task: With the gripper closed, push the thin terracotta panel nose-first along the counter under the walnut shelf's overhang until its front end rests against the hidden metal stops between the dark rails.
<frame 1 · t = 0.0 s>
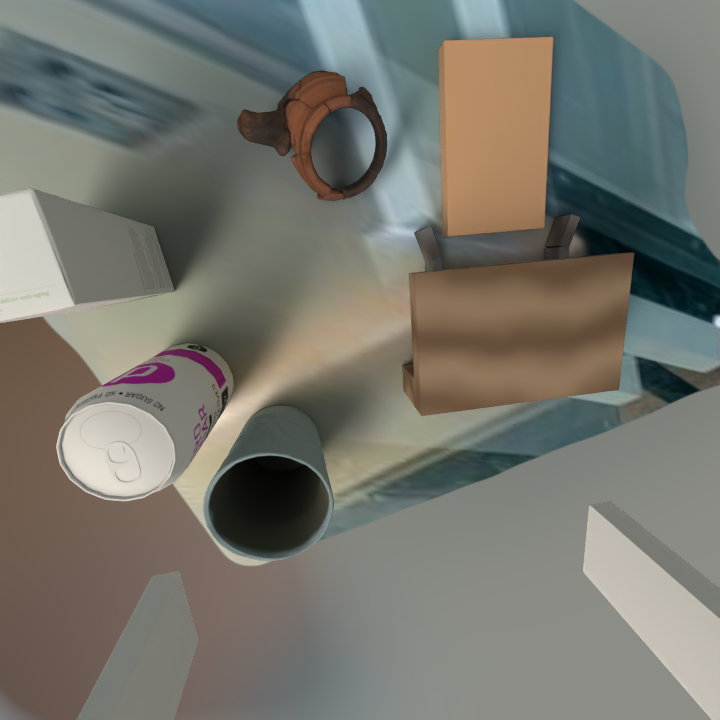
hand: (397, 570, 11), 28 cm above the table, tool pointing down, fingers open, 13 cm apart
grey cylindrical pot: (283, 438, 40), on the table
skincare box: (124, 265, 34), on the table
supplement can: (195, 380, 37), on the table
terracotta panel: (488, 148, 35), on the table
broken clay pot: (314, 145, 33), on the table
walnut shelf: (489, 310, 39), on the table
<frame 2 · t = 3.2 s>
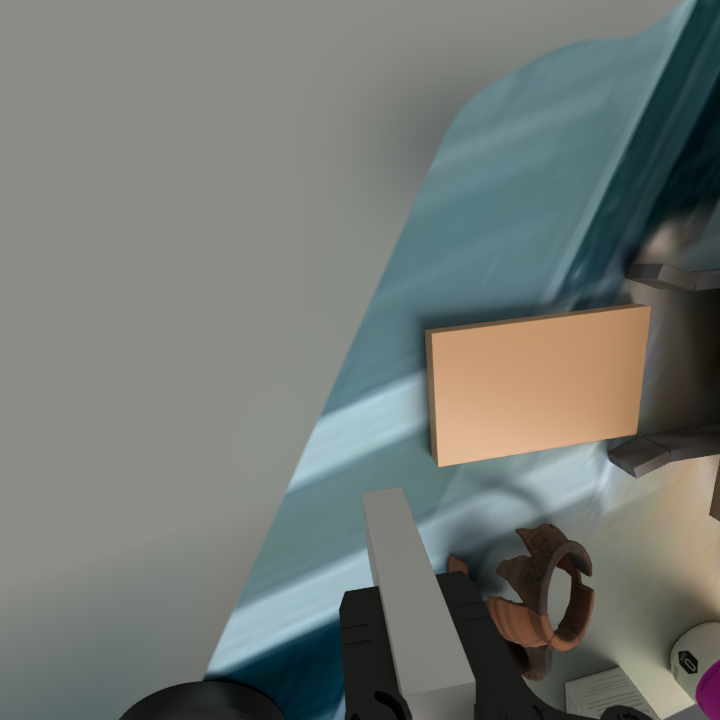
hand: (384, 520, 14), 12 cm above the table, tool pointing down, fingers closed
skincare box: (589, 698, 37), on the table
supplement can: (698, 646, 38), on the table
terracotta panel: (526, 379, 28), on the table
broken clay pot: (500, 562, 31), on the table
walnut shelf: (718, 357, 29), on the table
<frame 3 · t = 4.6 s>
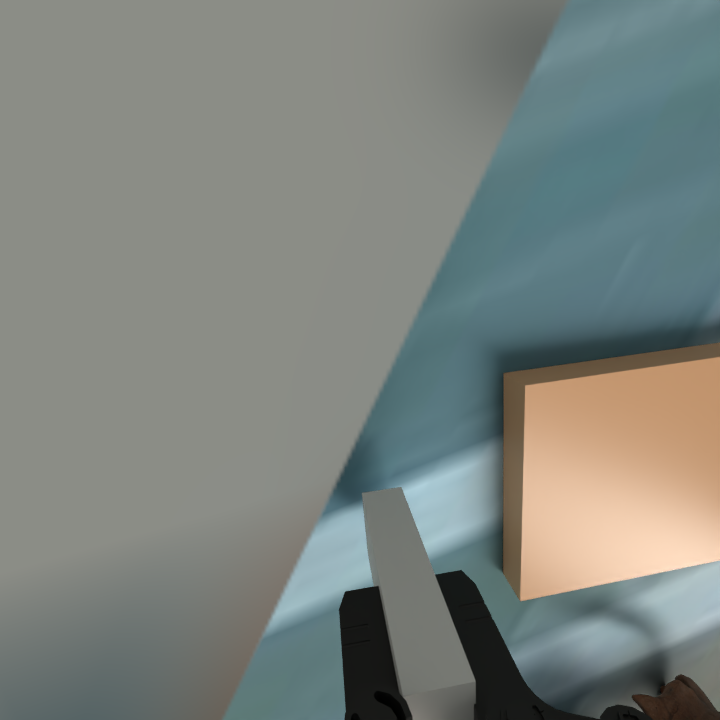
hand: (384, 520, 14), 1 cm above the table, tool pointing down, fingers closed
terracotta panel: (659, 447, 17), on the table
broken clay pot: (586, 710, 21), on the table
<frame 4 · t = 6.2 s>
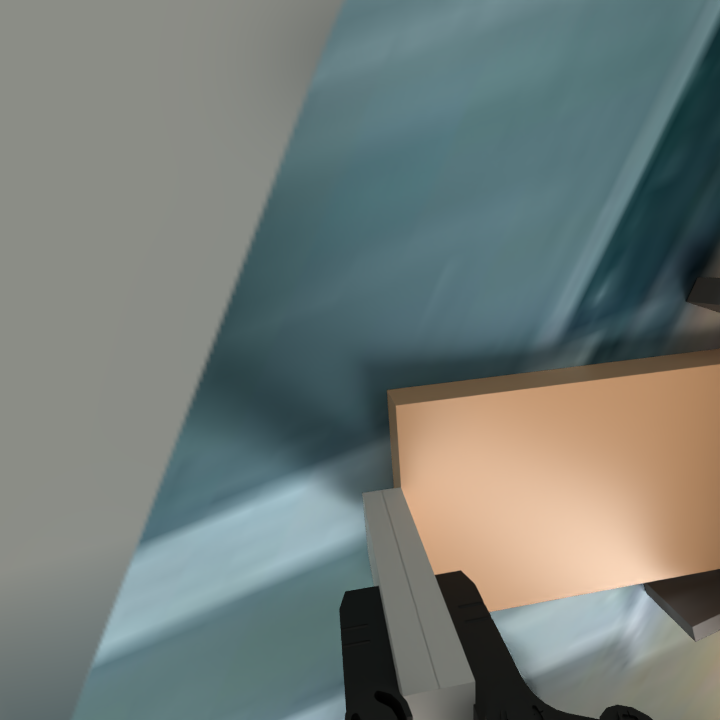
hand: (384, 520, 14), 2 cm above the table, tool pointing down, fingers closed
terracotta panel: (564, 468, 16), on the table, touching gripper
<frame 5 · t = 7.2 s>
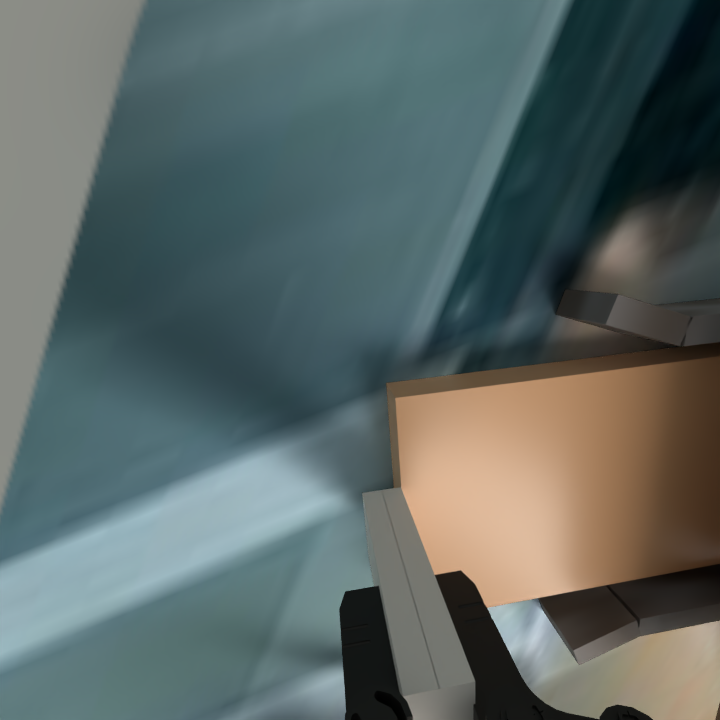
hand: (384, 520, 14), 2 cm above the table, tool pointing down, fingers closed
terracotta panel: (565, 463, 16), on the table, touching gripper
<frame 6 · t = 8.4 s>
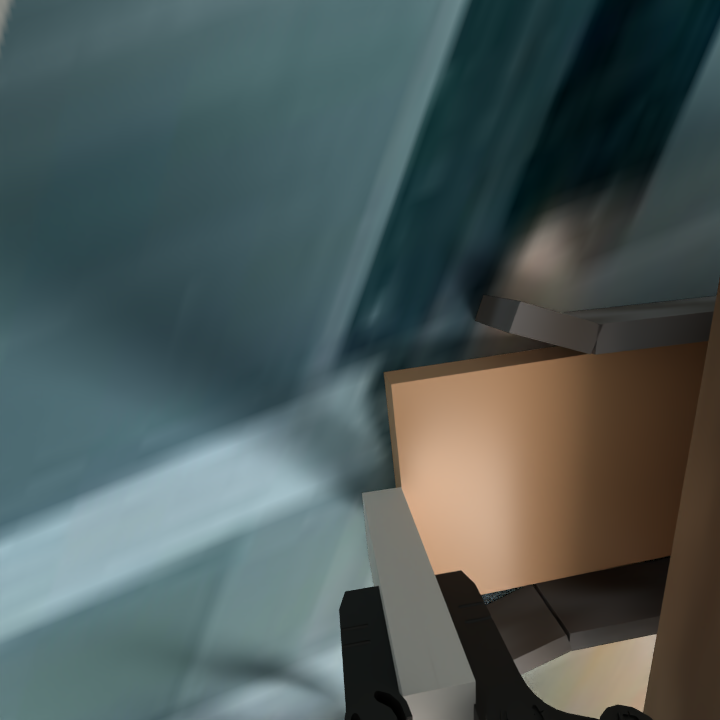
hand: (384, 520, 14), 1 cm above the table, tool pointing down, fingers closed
terracotta panel: (565, 447, 16), on the table
walnut shelf: (665, 454, 16), on the table
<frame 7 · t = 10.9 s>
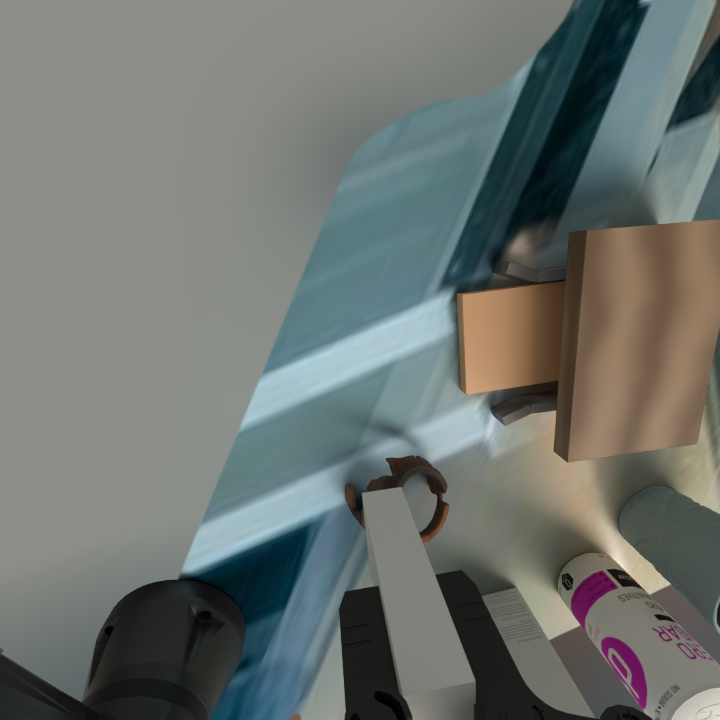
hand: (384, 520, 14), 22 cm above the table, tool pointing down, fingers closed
grey cylindrical pot: (648, 512, 45), on the table
skincare box: (493, 613, 46), on the table
supplement can: (582, 573, 46), on the table
terracotta panel: (531, 331, 37), on the table
broken clay pot: (390, 491, 40), on the table
walnut shelf: (574, 334, 37), on the table
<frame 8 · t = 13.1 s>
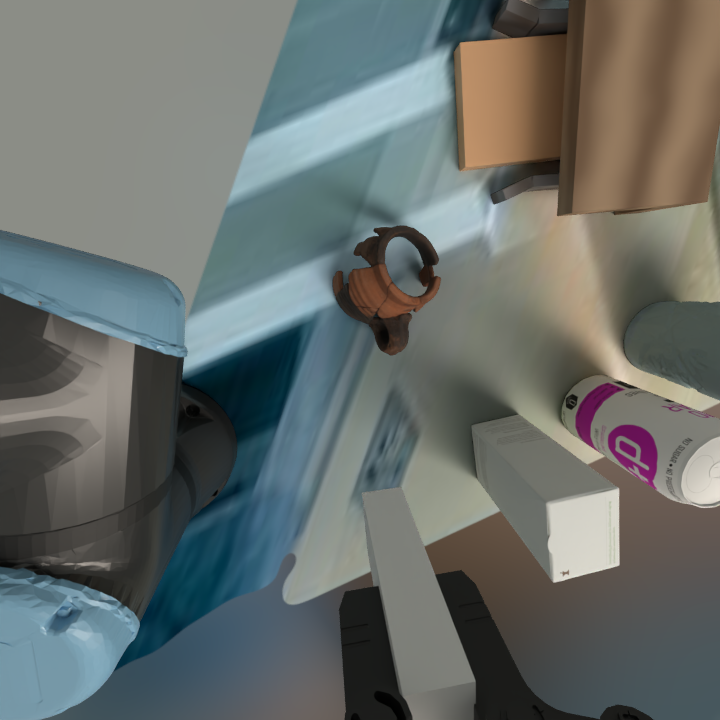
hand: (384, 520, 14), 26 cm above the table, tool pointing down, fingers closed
grey cylindrical pot: (654, 334, 43), on the table
skincare box: (495, 446, 45), on the table
supplement can: (587, 404, 45), on the table
terracotta panel: (532, 108, 35), on the table
broken clay pot: (380, 290, 38), on the table
walnut shelf: (577, 111, 36), on the table
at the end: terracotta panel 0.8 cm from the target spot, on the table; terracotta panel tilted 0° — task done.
